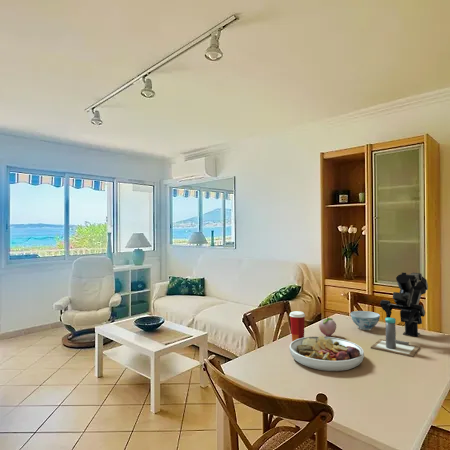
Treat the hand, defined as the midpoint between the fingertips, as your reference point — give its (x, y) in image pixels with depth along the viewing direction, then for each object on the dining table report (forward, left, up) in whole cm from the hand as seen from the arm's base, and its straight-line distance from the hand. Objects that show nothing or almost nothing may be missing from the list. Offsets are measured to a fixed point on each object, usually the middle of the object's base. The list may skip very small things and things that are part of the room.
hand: (397, 322), depth 154 cm
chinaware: (-17, -21, -10) cm, 29 cm away
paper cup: (+25, -39, -10) cm, 47 cm away
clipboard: (+6, 0, -10) cm, 12 cm away
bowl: (+37, -19, -11) cm, 43 cm away
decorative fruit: (+9, -31, -10) cm, 34 cm away
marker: (+8, -1, -9) cm, 13 cm away
